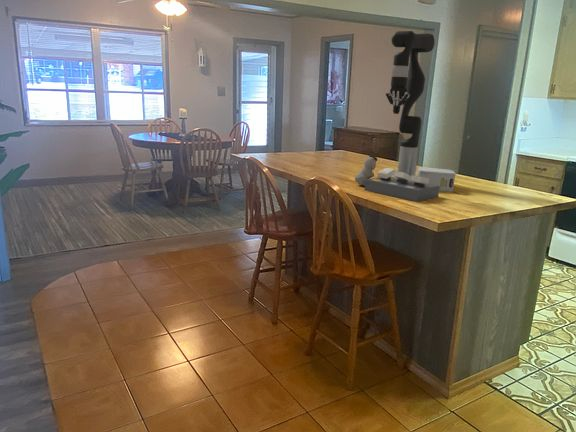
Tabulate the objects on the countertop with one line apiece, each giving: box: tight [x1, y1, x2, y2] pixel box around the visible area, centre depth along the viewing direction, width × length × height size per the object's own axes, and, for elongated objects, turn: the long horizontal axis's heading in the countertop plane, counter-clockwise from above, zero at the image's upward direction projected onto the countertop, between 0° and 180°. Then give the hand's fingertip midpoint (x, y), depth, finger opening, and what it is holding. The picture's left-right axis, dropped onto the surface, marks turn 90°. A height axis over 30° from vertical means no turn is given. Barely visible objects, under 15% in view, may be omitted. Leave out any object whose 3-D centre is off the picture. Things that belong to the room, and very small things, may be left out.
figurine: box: [354, 154, 378, 187], centre depth 224 cm, size 9×10×15 cm
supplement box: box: [416, 166, 456, 193], centre depth 226 cm, size 17×13×9 cm
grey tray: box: [364, 176, 440, 203], centre depth 211 cm, size 18×28×6 cm, turn 43°
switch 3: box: [411, 174, 429, 184], centre depth 203 cm, size 7×5×2 cm
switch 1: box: [377, 167, 396, 179], centre depth 216 cm, size 7×5×2 cm
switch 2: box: [393, 170, 411, 181], centre depth 209 cm, size 7×5×2 cm
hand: (396, 113), depth 221 cm, fingers closed
